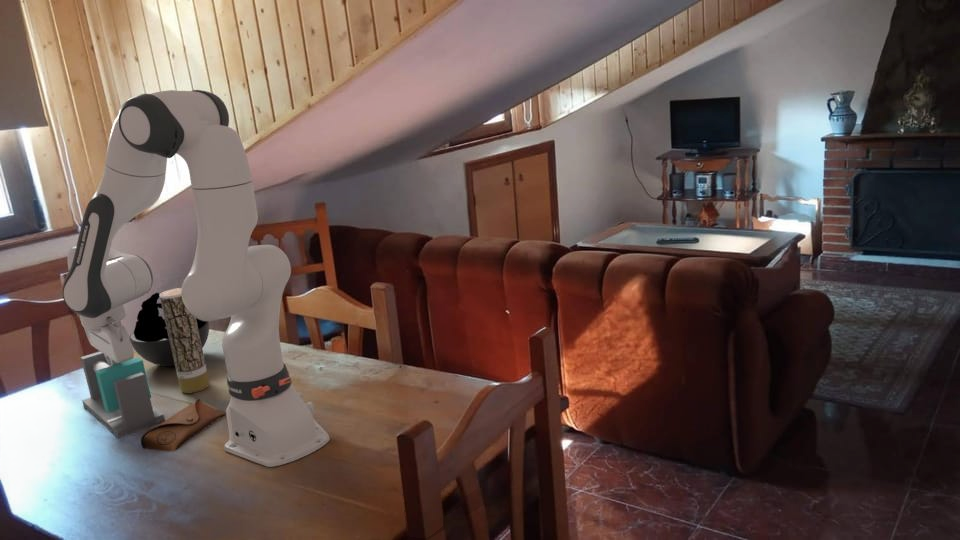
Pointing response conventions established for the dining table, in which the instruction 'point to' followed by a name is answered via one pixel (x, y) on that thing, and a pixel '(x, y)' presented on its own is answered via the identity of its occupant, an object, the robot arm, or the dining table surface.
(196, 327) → the log-textured cylinder
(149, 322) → the bowl of black rocks
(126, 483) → the dining table surface
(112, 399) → the teal upright slab
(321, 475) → the dining table surface
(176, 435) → the sunglasses case
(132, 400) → the pipe stand
